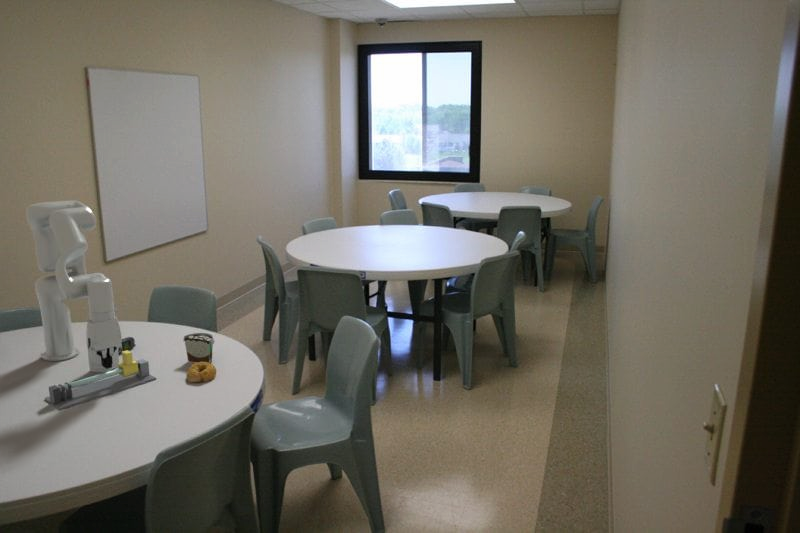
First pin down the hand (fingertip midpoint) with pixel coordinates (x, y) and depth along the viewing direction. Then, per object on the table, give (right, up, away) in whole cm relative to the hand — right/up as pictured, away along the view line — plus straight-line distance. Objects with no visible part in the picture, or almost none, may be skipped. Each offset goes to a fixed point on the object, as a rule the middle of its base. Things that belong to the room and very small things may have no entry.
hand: (107, 367), depth 214 cm
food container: (+24, -2, +26) cm, 36 cm away
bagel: (+28, -6, +10) cm, 31 cm away
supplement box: (-9, -3, +17) cm, 20 cm away
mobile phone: (-10, 0, +33) cm, 35 cm away
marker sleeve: (+4, -3, +6) cm, 8 cm away
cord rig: (-2, -7, -1) cm, 8 cm away
